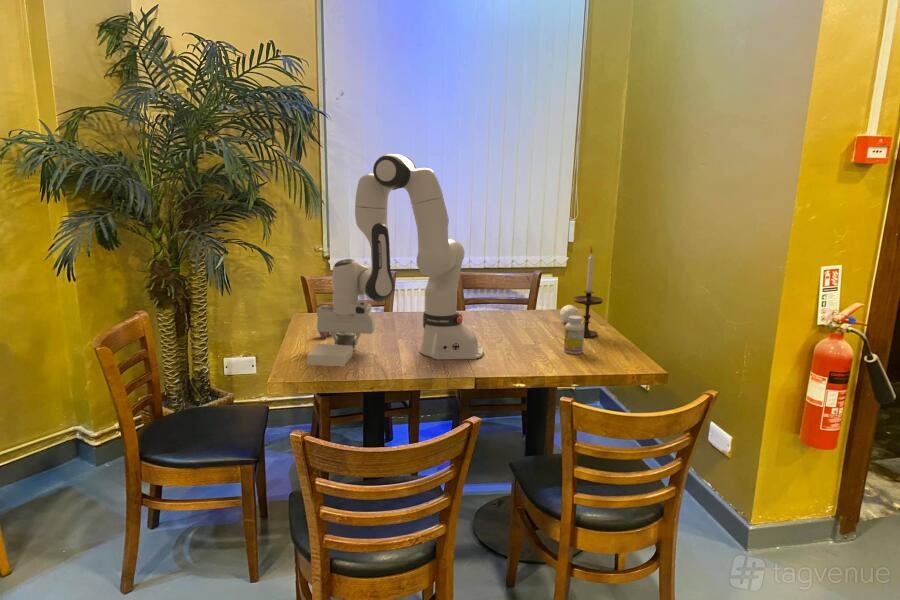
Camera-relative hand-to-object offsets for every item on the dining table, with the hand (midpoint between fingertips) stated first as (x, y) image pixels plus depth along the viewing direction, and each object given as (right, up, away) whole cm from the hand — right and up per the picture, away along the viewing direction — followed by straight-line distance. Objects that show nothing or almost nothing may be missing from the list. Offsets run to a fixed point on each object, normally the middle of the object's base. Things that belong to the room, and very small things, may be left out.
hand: (346, 344), depth 225 cm
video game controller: (-8, +2, +16) cm, 18 cm away
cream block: (-3, -5, -12) cm, 13 cm away
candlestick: (+90, +2, +24) cm, 93 cm away
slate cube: (0, -2, 0) cm, 2 cm away
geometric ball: (+86, +6, +41) cm, 96 cm away
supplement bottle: (+80, -3, +2) cm, 81 cm away
